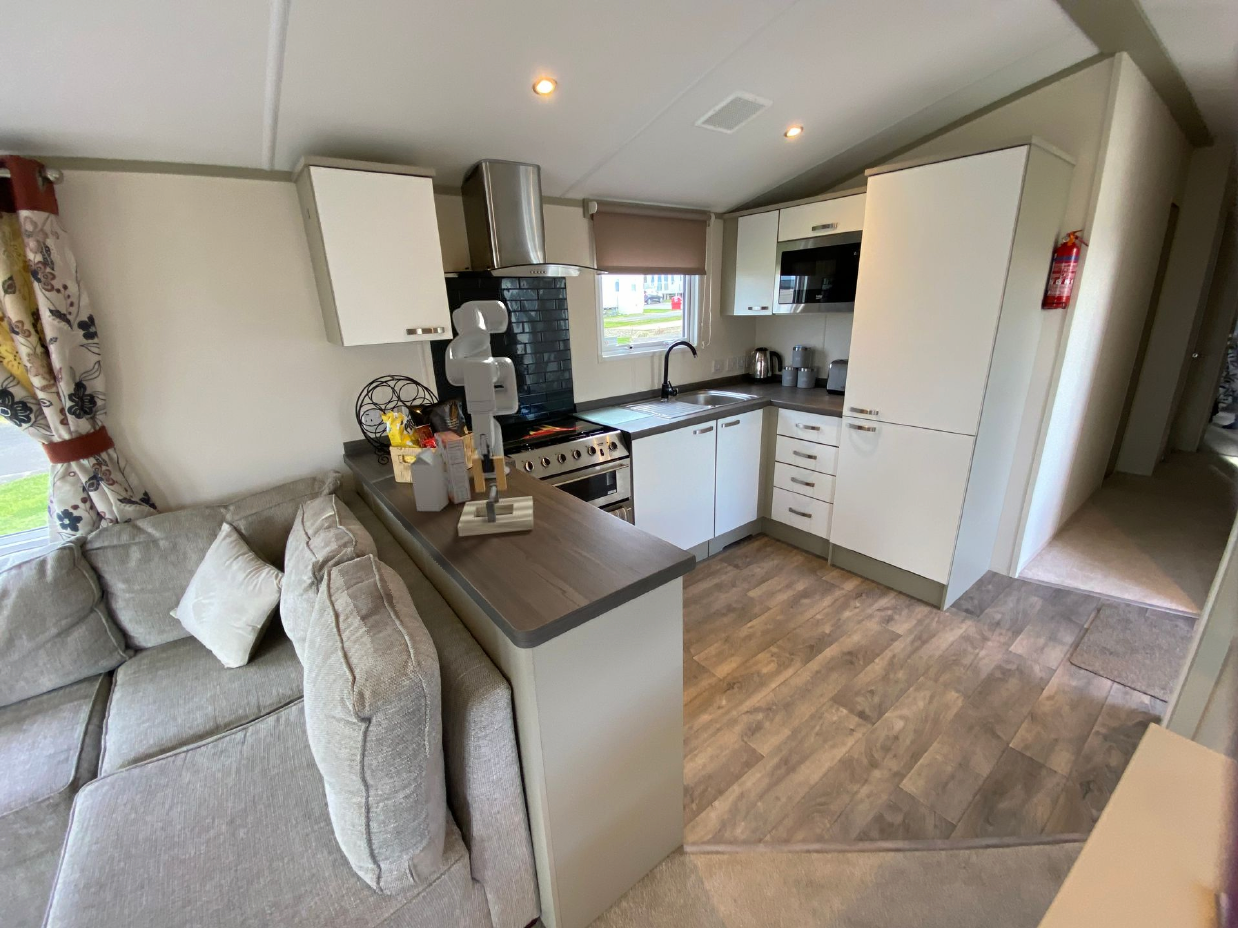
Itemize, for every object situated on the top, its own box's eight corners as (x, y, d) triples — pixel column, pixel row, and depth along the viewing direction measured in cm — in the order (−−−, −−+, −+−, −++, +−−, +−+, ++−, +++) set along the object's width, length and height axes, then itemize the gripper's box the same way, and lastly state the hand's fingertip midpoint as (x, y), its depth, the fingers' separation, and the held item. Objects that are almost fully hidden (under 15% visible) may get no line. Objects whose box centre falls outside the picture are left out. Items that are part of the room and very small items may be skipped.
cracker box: (442, 492, 168) (433, 432, 162) (460, 488, 171) (451, 430, 165) (453, 505, 157) (444, 441, 150) (472, 500, 160) (463, 438, 153)
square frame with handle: (467, 511, 151) (463, 485, 149) (533, 505, 154) (530, 479, 152) (459, 536, 134) (454, 507, 132) (533, 529, 137) (530, 500, 135)
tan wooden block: (476, 489, 141) (472, 458, 139) (506, 487, 143) (503, 455, 140) (475, 492, 139) (471, 460, 136) (506, 489, 140) (502, 457, 138)
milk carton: (449, 503, 158) (440, 446, 153) (439, 511, 152) (430, 452, 146) (427, 503, 159) (418, 446, 153) (417, 511, 152) (407, 452, 147)
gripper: (470, 402, 141) (478, 464, 146) (463, 412, 126) (472, 480, 131) (497, 400, 142) (504, 462, 147) (493, 410, 127) (501, 478, 132)
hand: (489, 470), depth 139 cm, fingers closed on tan wooden block, 2 cm apart
